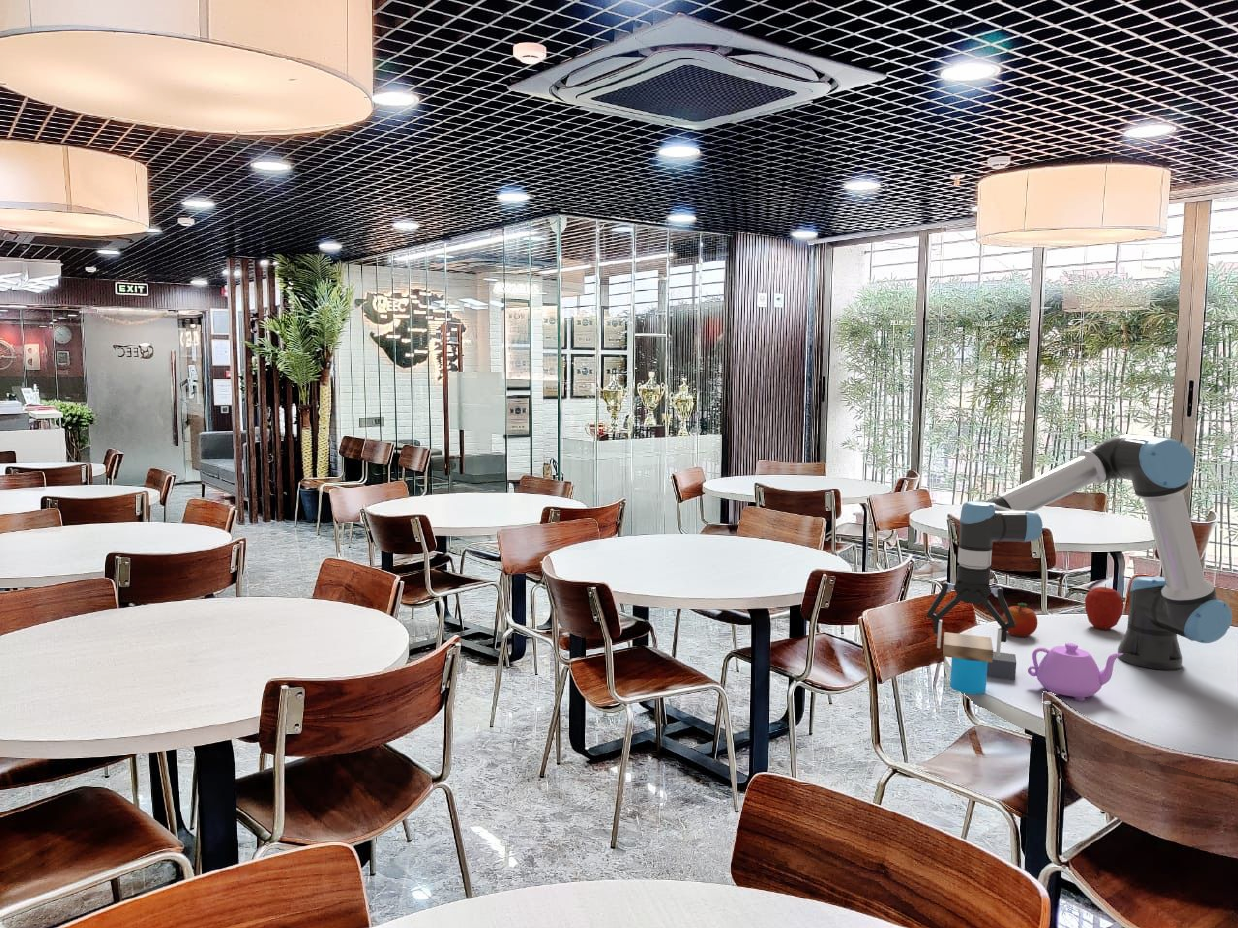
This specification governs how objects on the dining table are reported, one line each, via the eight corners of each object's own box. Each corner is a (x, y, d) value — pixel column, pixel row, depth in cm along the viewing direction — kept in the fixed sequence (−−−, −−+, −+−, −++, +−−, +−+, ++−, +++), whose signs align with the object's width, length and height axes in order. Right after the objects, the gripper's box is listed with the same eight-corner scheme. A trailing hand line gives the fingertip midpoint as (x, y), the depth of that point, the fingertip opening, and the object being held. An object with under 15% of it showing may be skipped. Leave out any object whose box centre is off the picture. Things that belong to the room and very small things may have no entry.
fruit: (1032, 631, 270) (1034, 598, 269) (1039, 640, 260) (1042, 607, 259) (998, 628, 272) (1000, 596, 271) (1004, 637, 263) (1006, 604, 261)
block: (990, 649, 225) (990, 637, 225) (992, 662, 215) (993, 650, 214) (943, 643, 229) (944, 632, 228) (943, 656, 218) (944, 644, 218)
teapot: (1120, 693, 219) (1124, 644, 218) (1117, 711, 207) (1121, 660, 205) (1030, 677, 229) (1034, 630, 228) (1022, 693, 217) (1026, 644, 216)
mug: (989, 695, 216) (992, 662, 215) (954, 692, 217) (956, 659, 216) (976, 678, 228) (978, 646, 227) (943, 675, 229) (945, 644, 228)
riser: (1014, 671, 233) (1015, 654, 233) (1015, 679, 227) (1016, 662, 226) (984, 667, 236) (986, 650, 235) (985, 675, 229) (986, 658, 229)
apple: (1126, 629, 274) (1130, 584, 273) (1113, 635, 268) (1117, 589, 266) (1090, 621, 282) (1094, 577, 281) (1077, 627, 275) (1081, 582, 274)
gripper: (1029, 567, 218) (1022, 653, 220) (920, 557, 227) (915, 639, 229) (1031, 574, 211) (1024, 662, 213) (919, 563, 220) (913, 647, 222)
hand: (968, 650), depth 221 cm, fingers open, 13 cm apart
